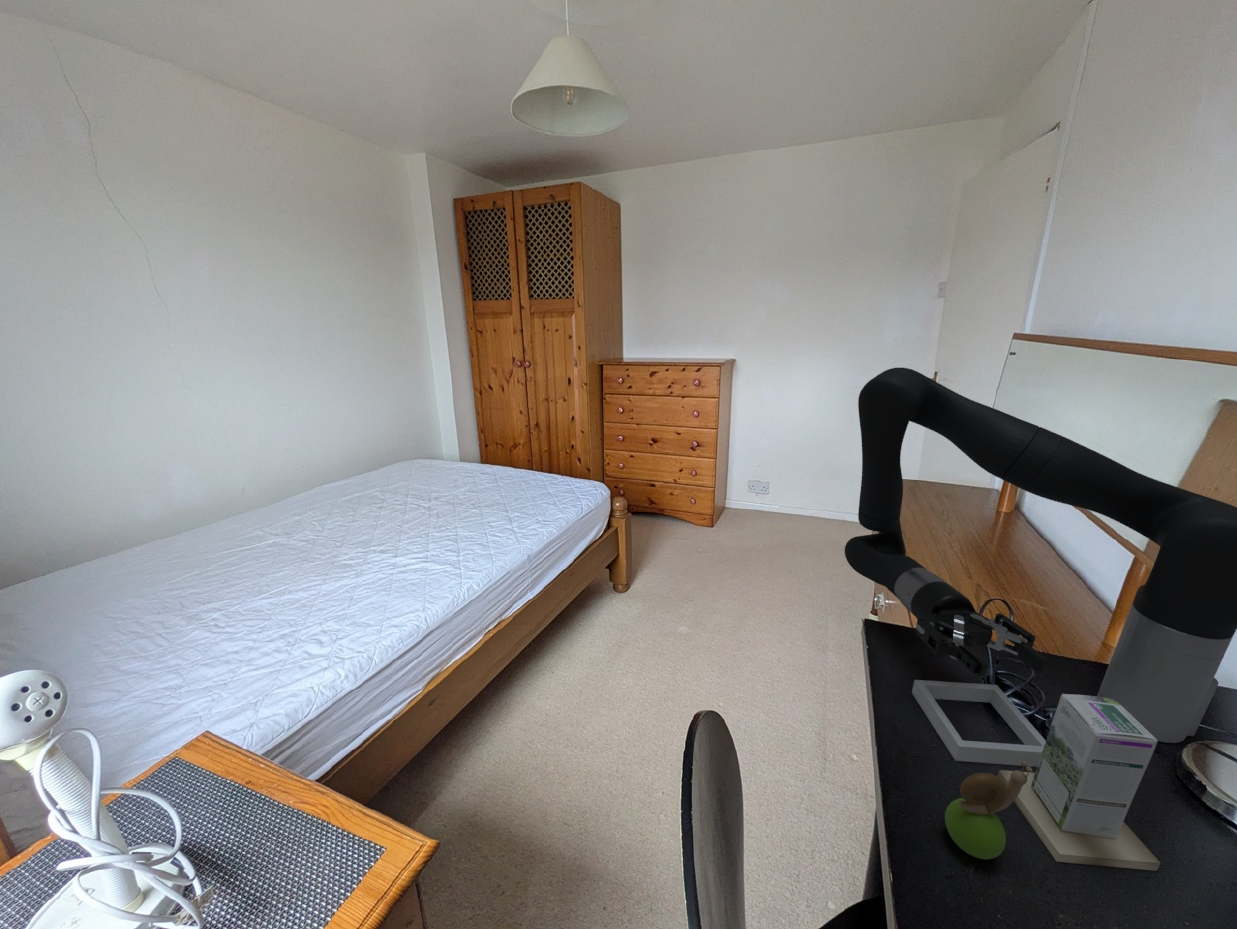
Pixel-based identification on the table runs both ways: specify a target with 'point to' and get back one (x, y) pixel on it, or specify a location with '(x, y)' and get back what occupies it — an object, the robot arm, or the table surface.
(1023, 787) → the birch pad
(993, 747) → the grey square frame
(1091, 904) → the table surface
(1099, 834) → the syrup box
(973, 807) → the snail figurine
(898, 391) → the robot arm
